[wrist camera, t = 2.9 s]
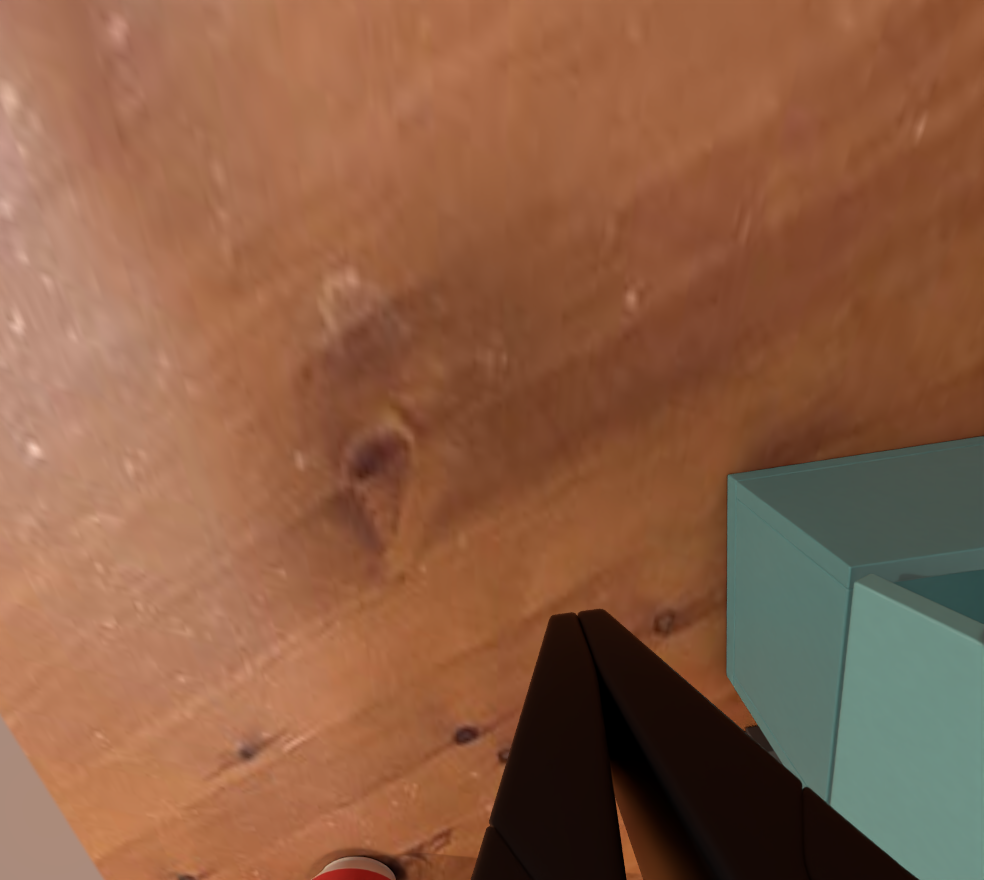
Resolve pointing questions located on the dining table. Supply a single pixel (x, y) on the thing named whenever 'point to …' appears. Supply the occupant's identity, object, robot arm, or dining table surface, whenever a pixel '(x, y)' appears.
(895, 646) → the lid
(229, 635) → the dining table surface
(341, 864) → the beverage can
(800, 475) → the open box
